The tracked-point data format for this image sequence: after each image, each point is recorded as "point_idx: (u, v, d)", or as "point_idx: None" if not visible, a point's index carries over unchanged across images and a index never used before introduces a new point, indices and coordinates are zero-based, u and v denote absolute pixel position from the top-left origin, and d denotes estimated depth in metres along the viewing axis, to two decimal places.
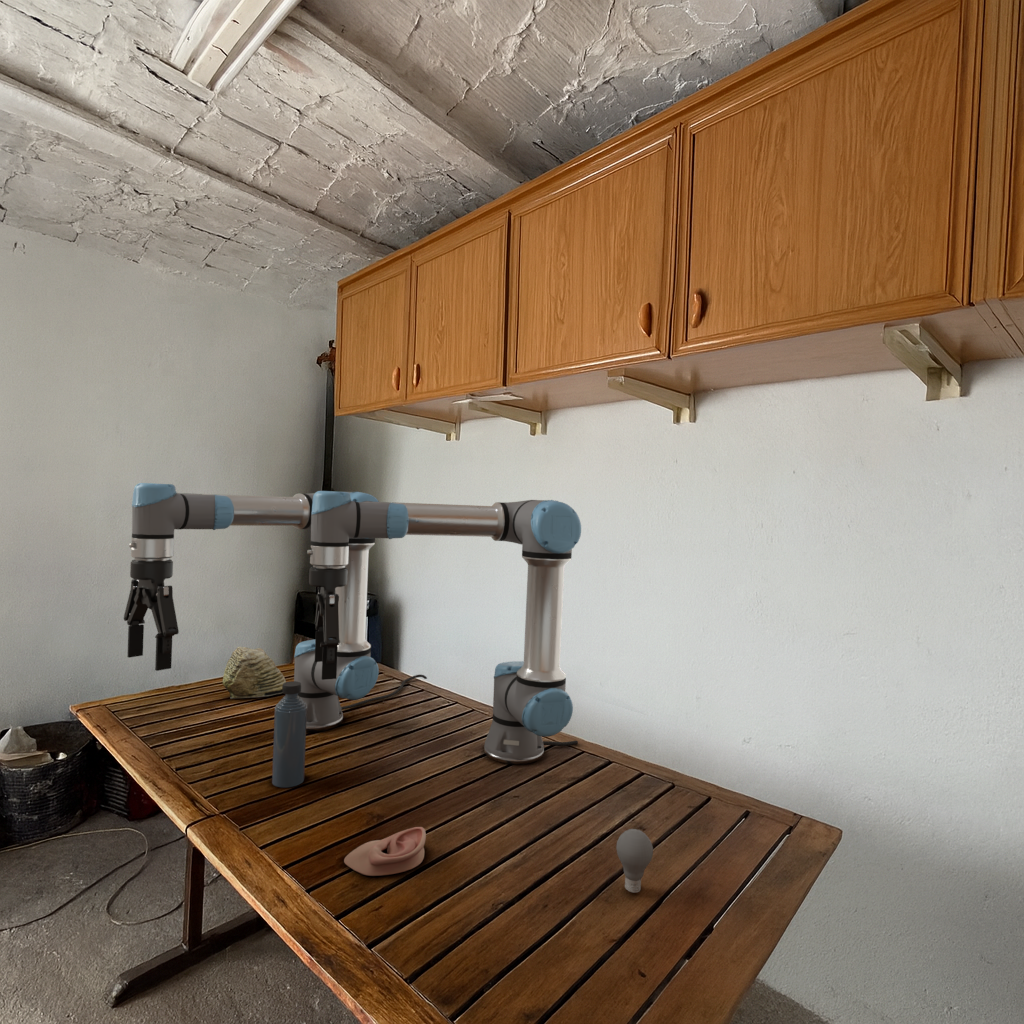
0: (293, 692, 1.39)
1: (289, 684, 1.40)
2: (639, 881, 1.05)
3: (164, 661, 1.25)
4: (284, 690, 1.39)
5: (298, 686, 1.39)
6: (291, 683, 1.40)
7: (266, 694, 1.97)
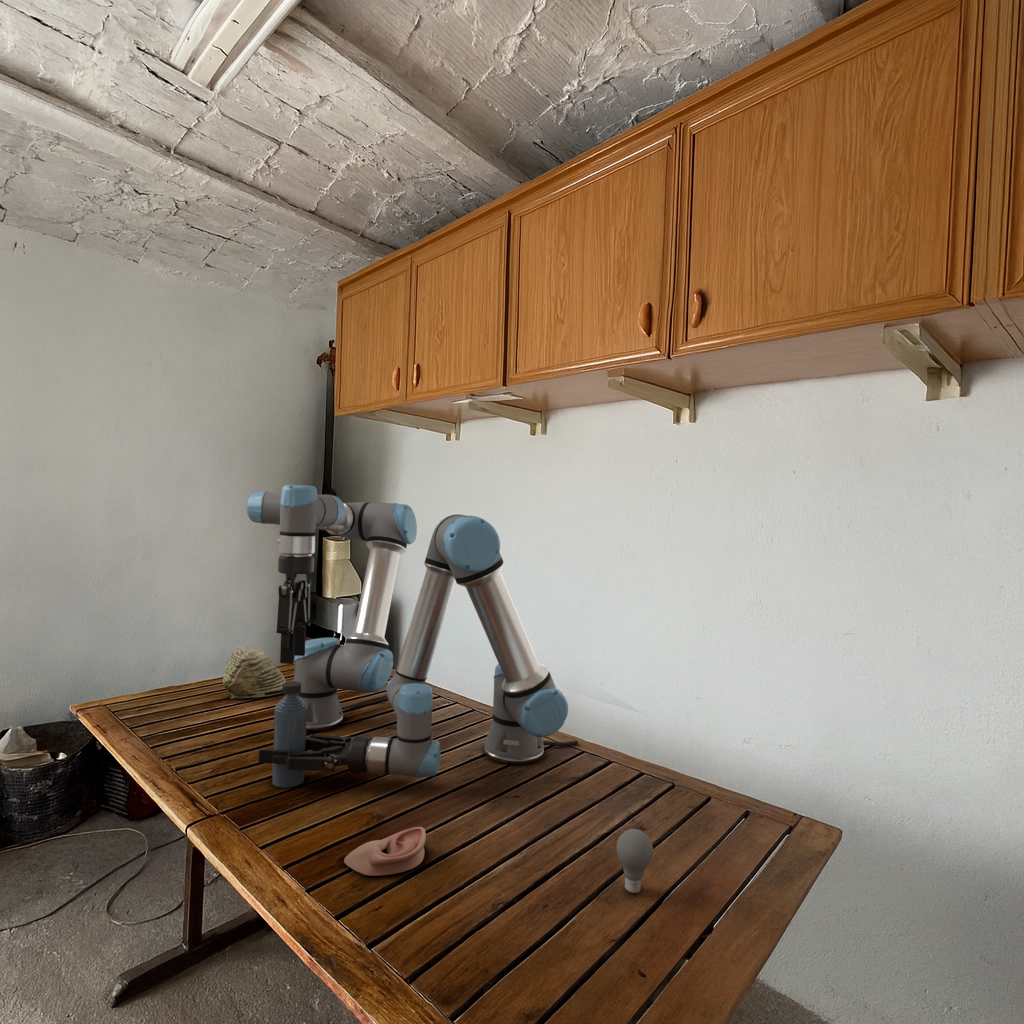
0: (293, 692, 1.39)
1: (289, 684, 1.40)
2: (639, 881, 1.05)
3: (286, 656, 1.36)
4: (284, 690, 1.39)
5: (298, 686, 1.39)
6: (291, 683, 1.40)
7: (266, 694, 1.97)
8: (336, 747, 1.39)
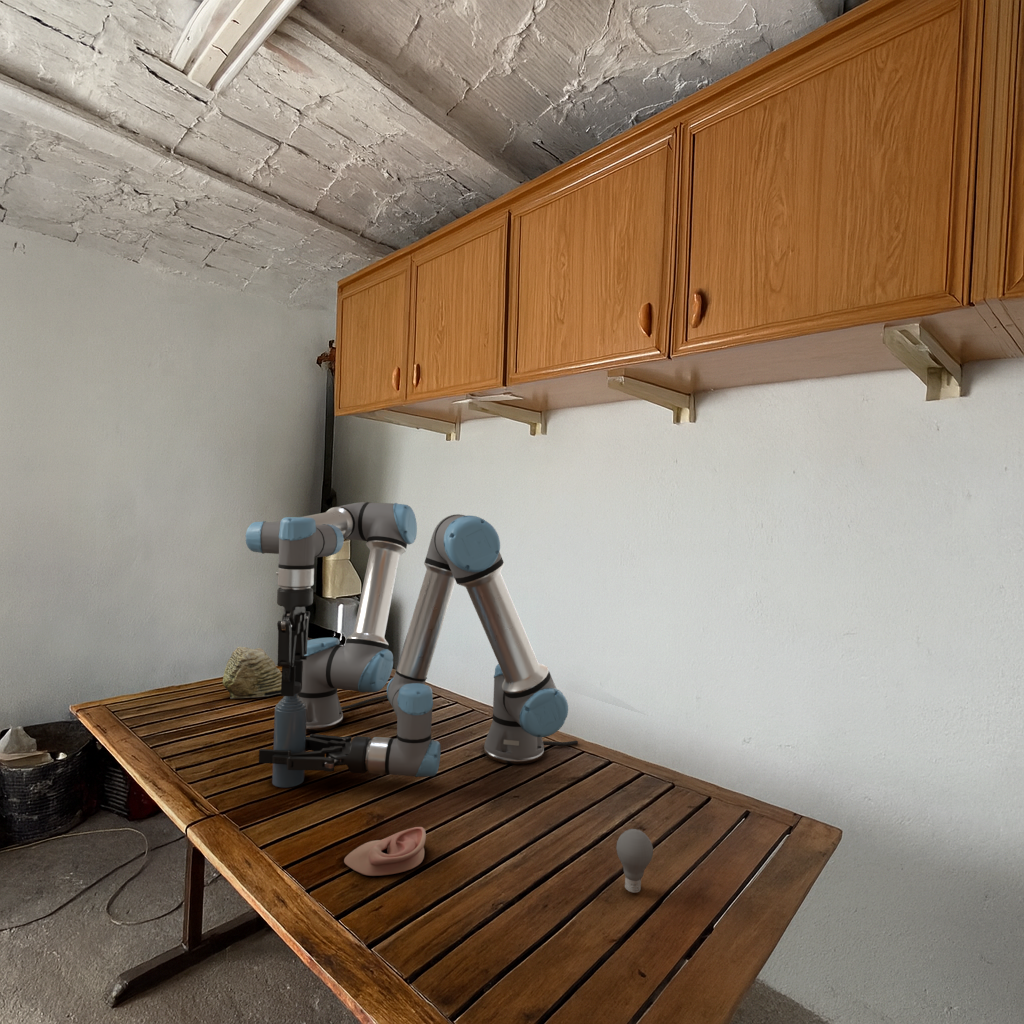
0: None
1: None
2: (639, 881, 1.05)
3: (287, 688, 1.38)
4: None
5: (298, 686, 1.39)
6: None
7: (266, 694, 1.97)
8: (336, 747, 1.39)
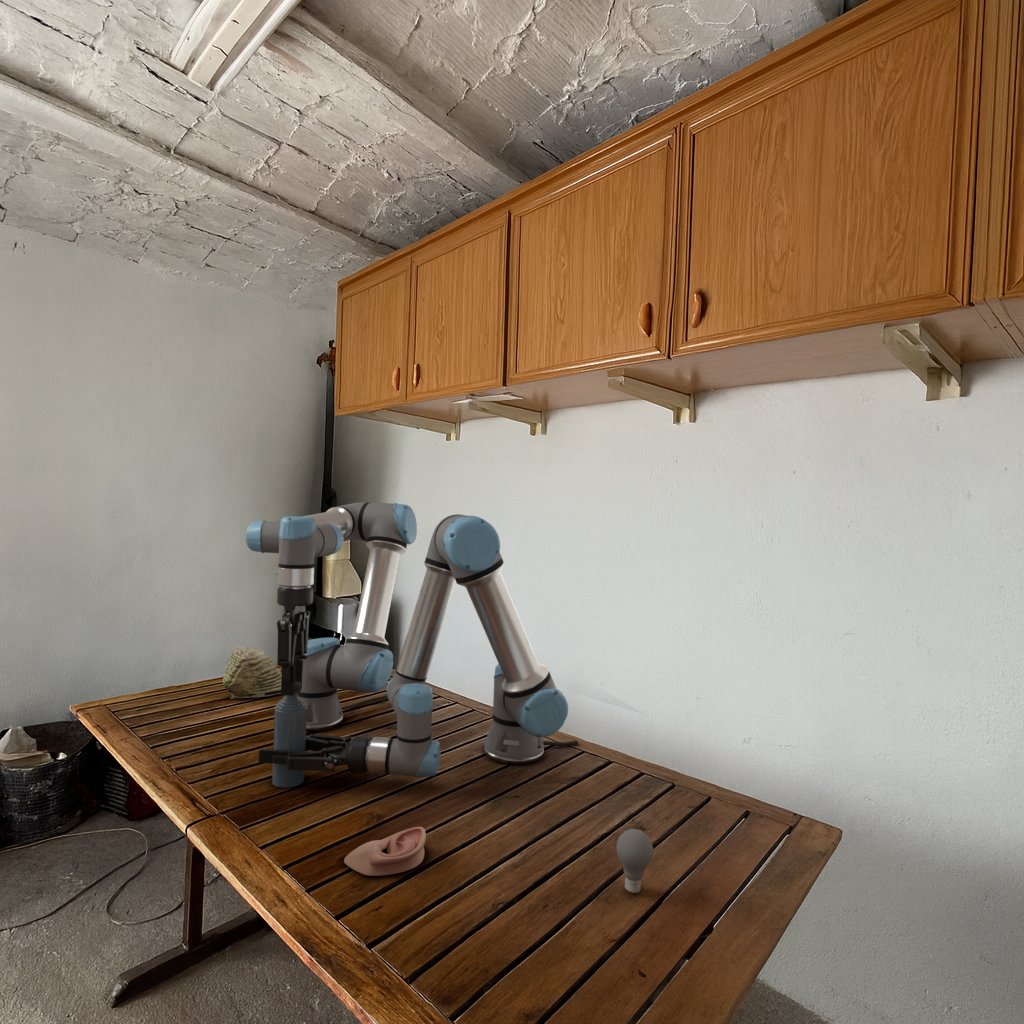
0: None
1: None
2: (639, 881, 1.05)
3: (287, 688, 1.38)
4: (300, 687, 1.41)
5: None
6: None
7: (266, 694, 1.97)
8: (336, 747, 1.39)
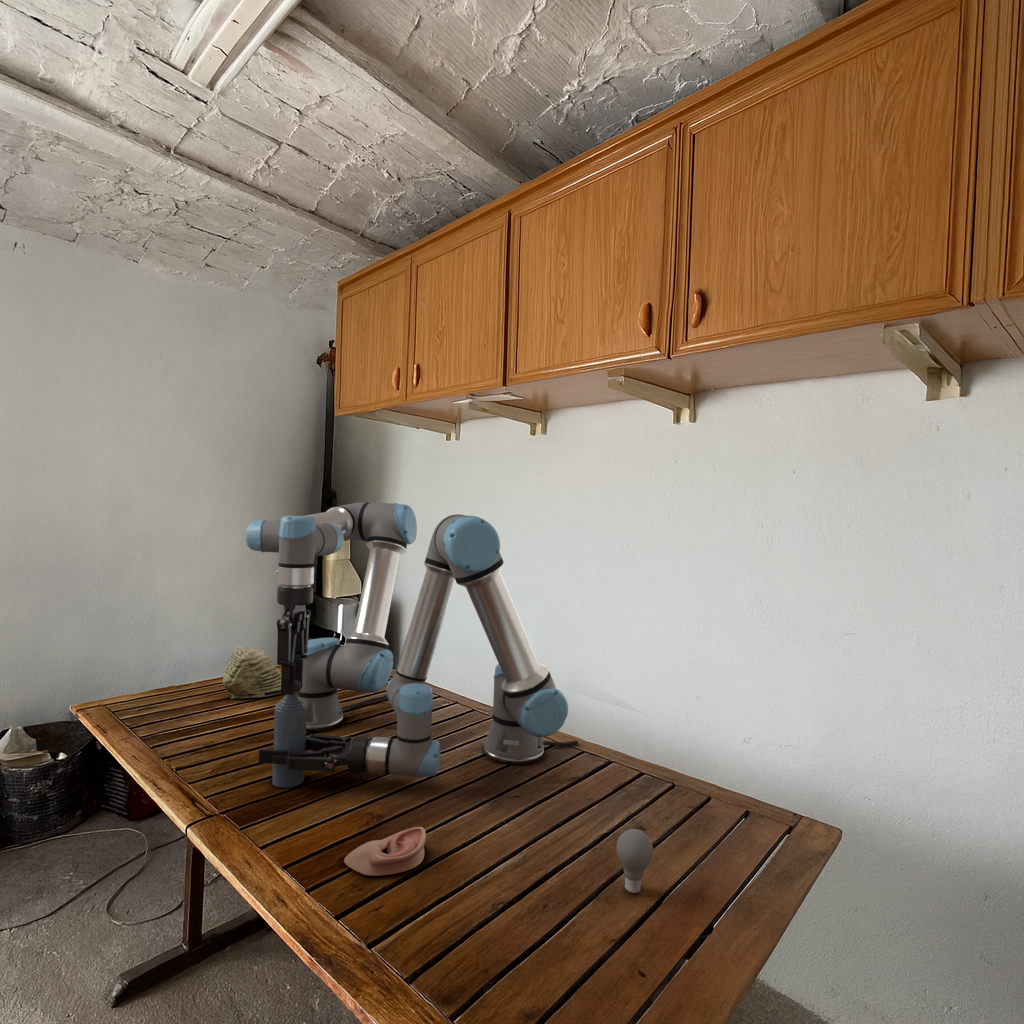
0: None
1: None
2: (639, 881, 1.05)
3: (287, 687, 1.38)
4: None
5: None
6: None
7: (266, 694, 1.97)
8: (336, 747, 1.39)
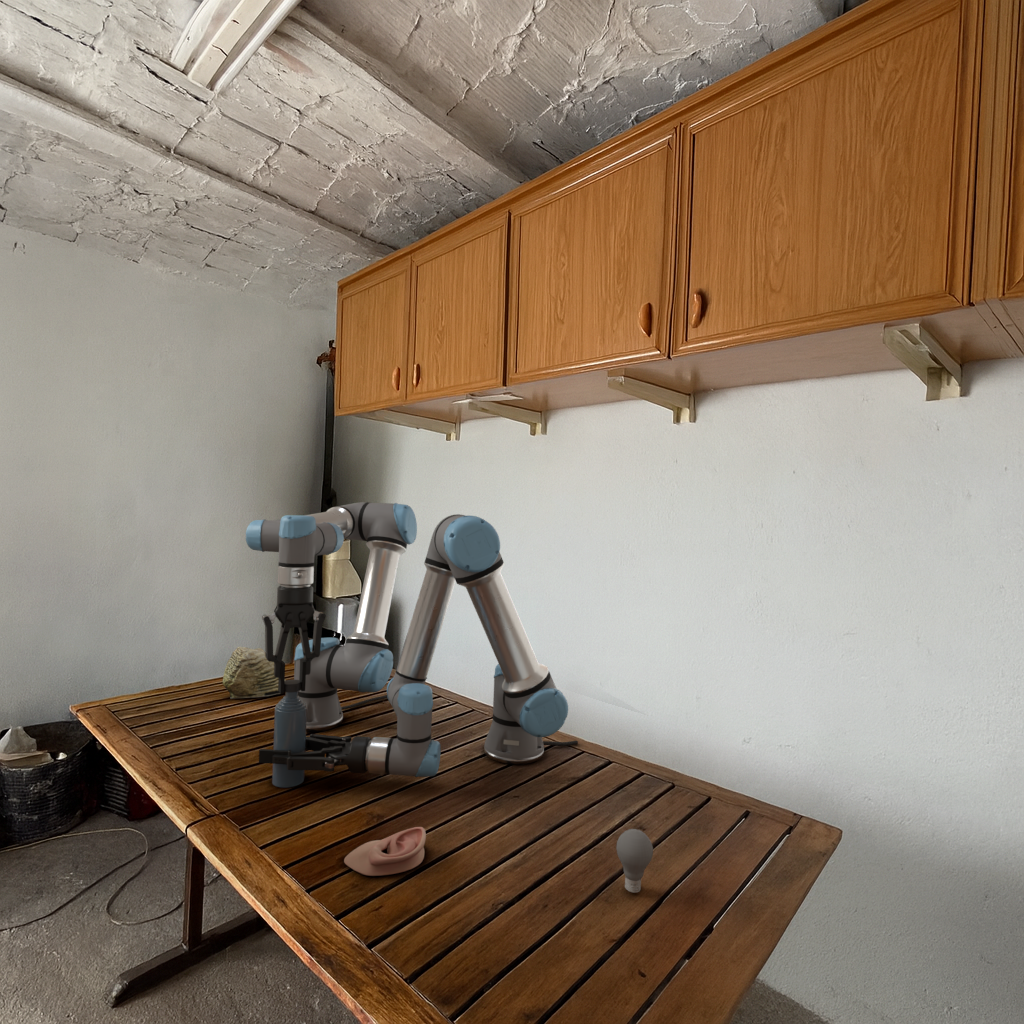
0: (298, 689, 1.39)
1: (290, 682, 1.40)
2: (639, 881, 1.05)
3: None
4: (288, 689, 1.38)
5: (300, 683, 1.41)
6: (290, 681, 1.40)
7: (266, 694, 1.97)
8: (336, 747, 1.39)
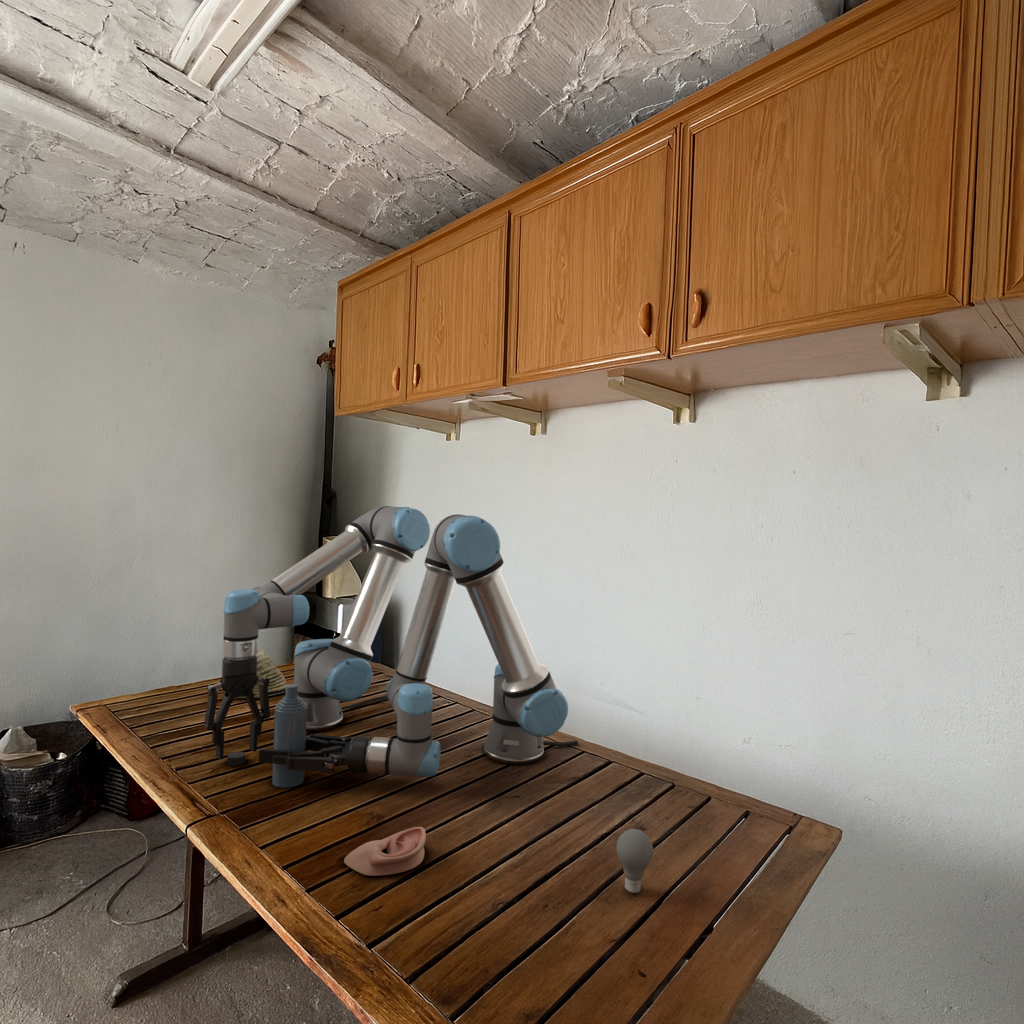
0: (243, 761, 1.48)
1: (235, 755, 1.48)
2: (639, 881, 1.05)
3: None
4: (234, 762, 1.47)
5: (245, 755, 1.50)
6: (235, 754, 1.49)
7: None
8: (336, 747, 1.39)
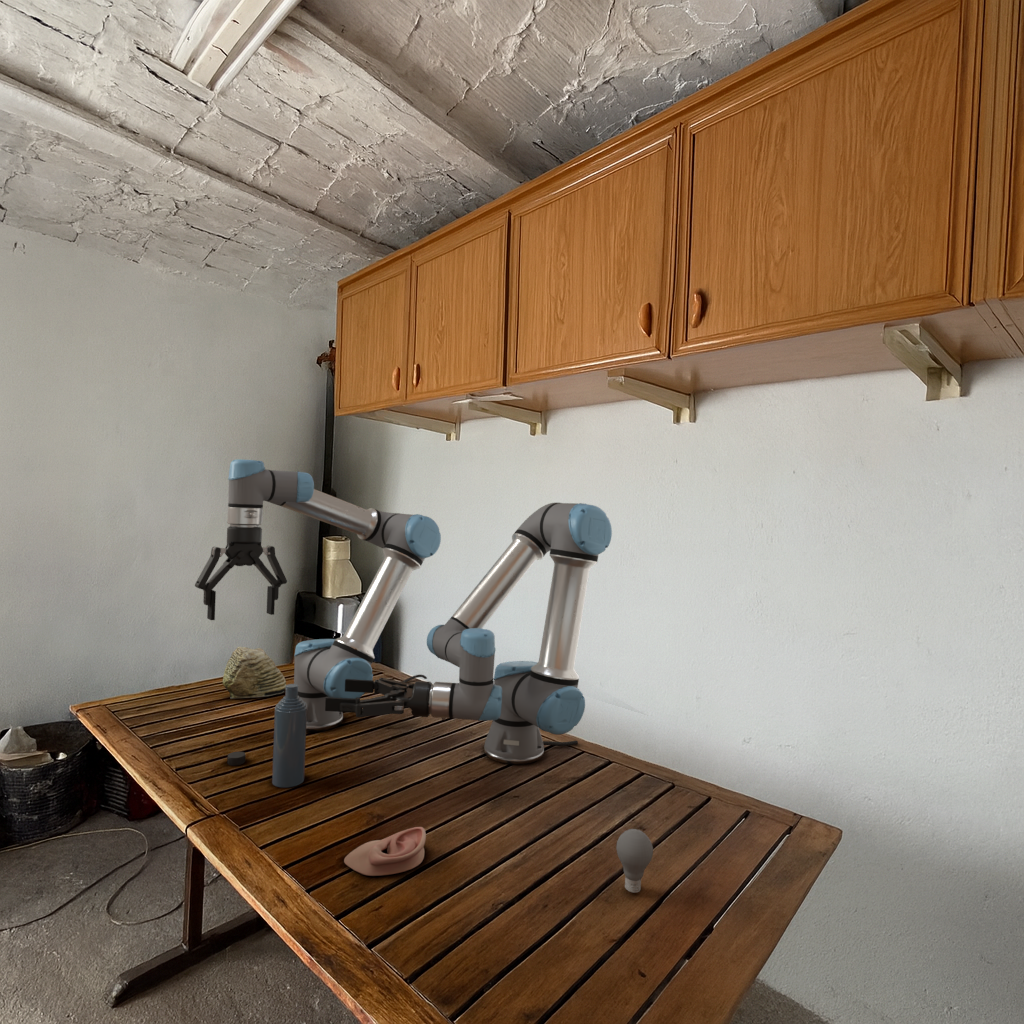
0: (243, 761, 1.48)
1: (235, 755, 1.48)
2: (639, 881, 1.05)
3: None
4: (234, 762, 1.47)
5: (245, 755, 1.50)
6: (235, 754, 1.49)
7: (266, 694, 1.97)
8: (399, 691, 1.38)
